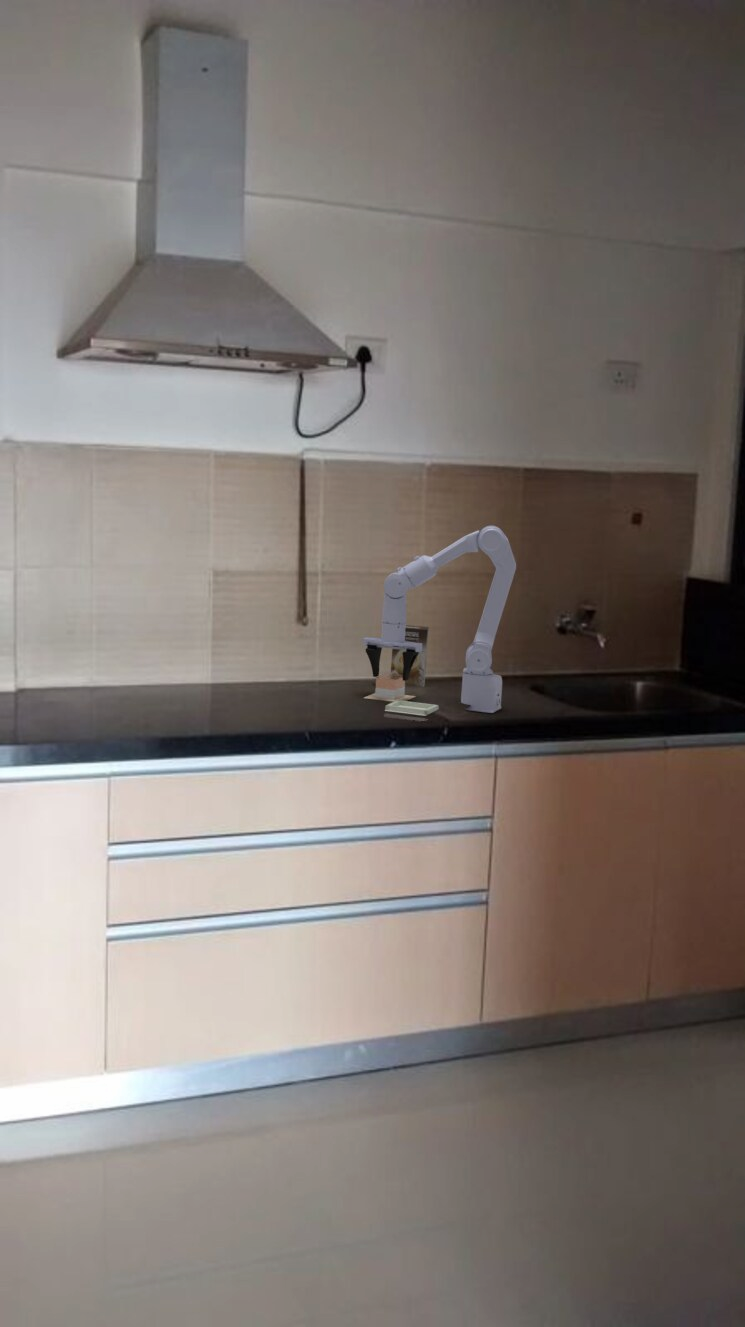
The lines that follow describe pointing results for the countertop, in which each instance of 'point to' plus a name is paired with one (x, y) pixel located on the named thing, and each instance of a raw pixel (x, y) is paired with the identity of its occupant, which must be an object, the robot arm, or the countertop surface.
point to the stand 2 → (410, 709)
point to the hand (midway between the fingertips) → (390, 678)
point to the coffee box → (419, 665)
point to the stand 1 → (404, 698)
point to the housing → (390, 687)
